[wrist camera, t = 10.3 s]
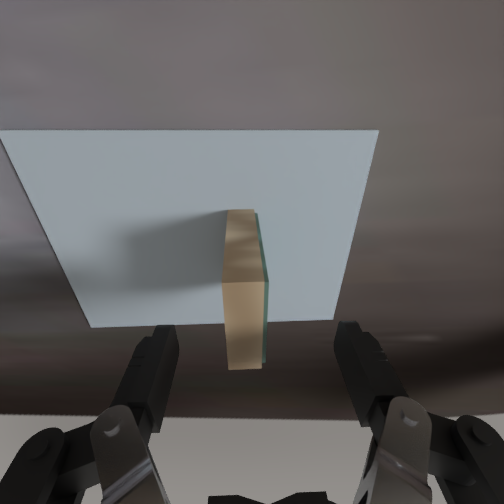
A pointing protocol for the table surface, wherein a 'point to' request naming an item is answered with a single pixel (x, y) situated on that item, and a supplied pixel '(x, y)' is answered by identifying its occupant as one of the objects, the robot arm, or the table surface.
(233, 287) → the tile
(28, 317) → the table surface
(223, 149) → the mat
